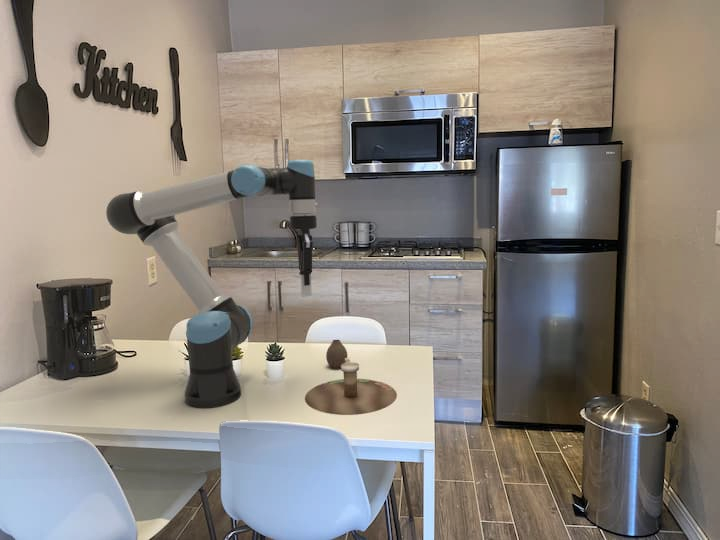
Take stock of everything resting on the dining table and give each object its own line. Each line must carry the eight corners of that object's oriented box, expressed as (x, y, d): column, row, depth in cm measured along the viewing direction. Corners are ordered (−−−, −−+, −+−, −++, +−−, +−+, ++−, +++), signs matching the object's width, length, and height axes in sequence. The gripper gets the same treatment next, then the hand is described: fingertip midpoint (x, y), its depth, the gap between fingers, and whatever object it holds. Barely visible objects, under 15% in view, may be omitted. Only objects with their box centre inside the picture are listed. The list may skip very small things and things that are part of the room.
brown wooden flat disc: (314, 425, 121) (314, 420, 121) (298, 389, 145) (297, 384, 145) (411, 410, 128) (410, 405, 128) (379, 378, 152) (379, 374, 152)
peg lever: (360, 397, 134) (359, 367, 133) (342, 398, 134) (341, 368, 133) (354, 377, 149) (354, 350, 148) (338, 378, 149) (337, 351, 148)
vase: (347, 369, 161) (346, 343, 160) (325, 370, 161) (324, 343, 160) (348, 362, 168) (347, 337, 166) (327, 363, 168) (326, 337, 167)
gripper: (320, 215, 139) (323, 298, 142) (311, 214, 151) (314, 291, 154) (293, 216, 137) (297, 301, 140) (286, 215, 149) (290, 293, 152)
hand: (306, 295), depth 147 cm, fingers closed
